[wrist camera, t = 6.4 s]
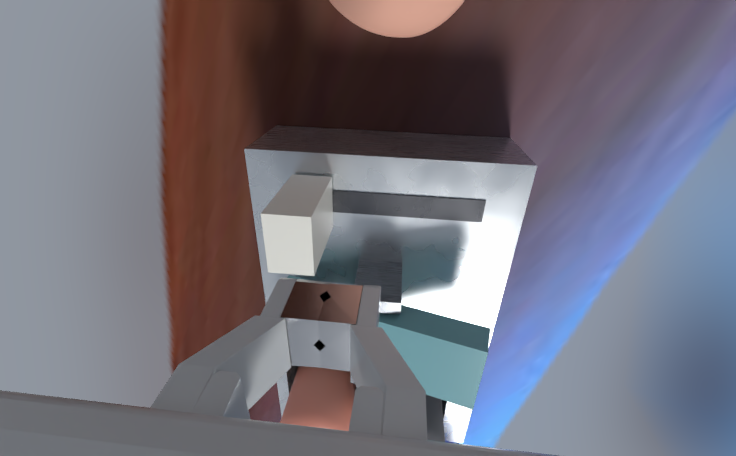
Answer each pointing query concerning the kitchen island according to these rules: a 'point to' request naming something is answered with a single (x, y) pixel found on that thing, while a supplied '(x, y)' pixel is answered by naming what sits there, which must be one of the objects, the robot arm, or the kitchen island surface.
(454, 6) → the toy ball
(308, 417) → the pink rounded cylinder
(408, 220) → the switch box
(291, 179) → the slider knob
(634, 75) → the kitchen island surface
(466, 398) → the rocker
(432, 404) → the black button
